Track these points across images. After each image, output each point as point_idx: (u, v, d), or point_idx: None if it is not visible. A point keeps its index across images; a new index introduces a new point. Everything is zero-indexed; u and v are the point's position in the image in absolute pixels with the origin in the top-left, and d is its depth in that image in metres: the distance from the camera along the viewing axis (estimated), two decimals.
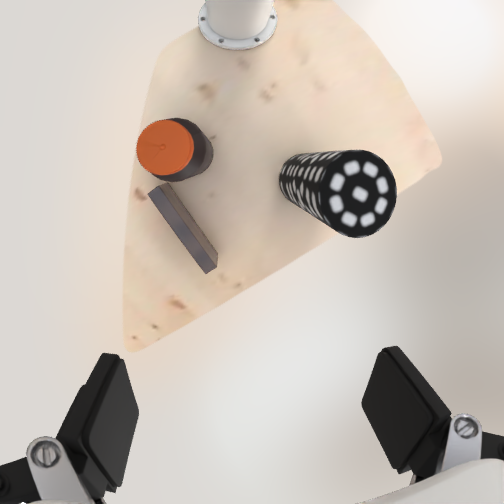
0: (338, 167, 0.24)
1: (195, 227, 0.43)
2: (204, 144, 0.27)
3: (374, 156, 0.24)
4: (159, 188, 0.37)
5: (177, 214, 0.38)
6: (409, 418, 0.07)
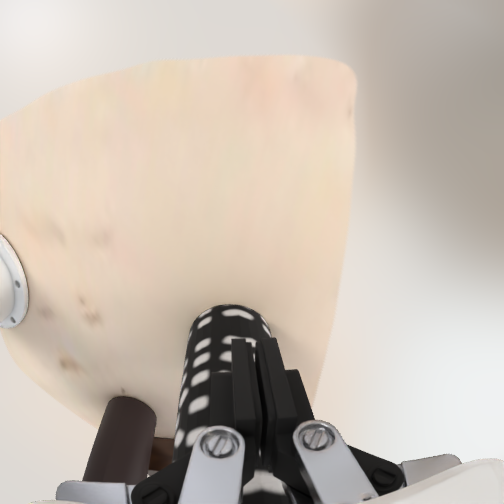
0: None
1: None
2: None
3: None
4: (148, 470, 0.27)
5: None
6: (264, 413, 0.07)
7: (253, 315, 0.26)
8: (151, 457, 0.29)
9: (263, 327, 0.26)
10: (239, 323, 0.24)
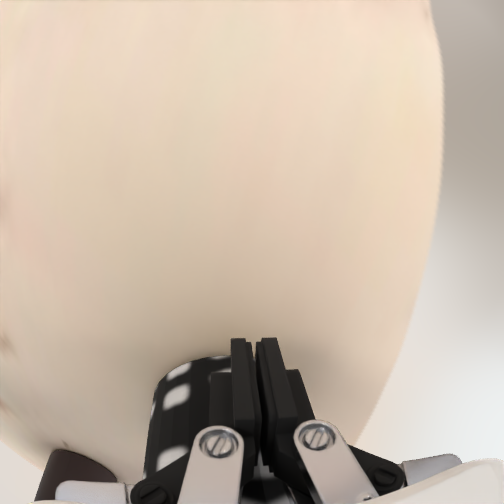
0: None
1: None
2: None
3: None
4: None
5: None
6: (264, 413, 0.07)
7: None
8: None
9: None
10: None
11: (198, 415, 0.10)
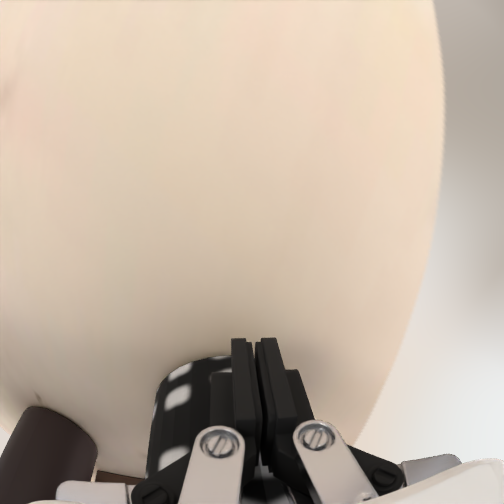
0: None
1: None
2: None
3: None
4: None
5: None
6: (263, 413, 0.07)
7: None
8: None
9: None
10: None
11: (199, 415, 0.10)
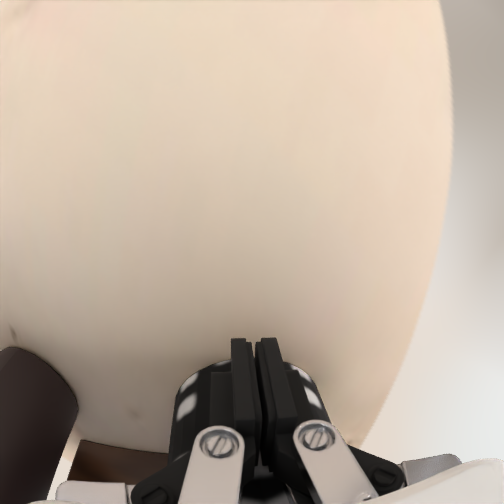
0: None
1: None
2: None
3: None
4: None
5: None
6: (264, 413, 0.07)
7: None
8: (74, 478, 0.12)
9: None
10: None
11: (202, 421, 0.10)
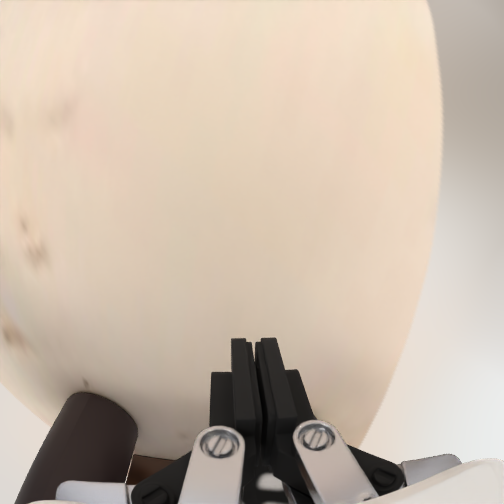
0: None
1: None
2: None
3: None
4: None
5: None
6: (264, 413, 0.07)
7: None
8: (131, 484, 0.17)
9: None
10: None
11: None
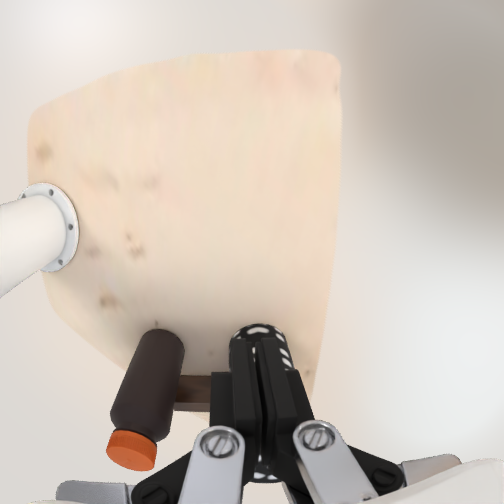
0: None
1: None
2: (145, 409, 0.24)
3: None
4: None
5: (205, 404, 0.35)
6: (264, 412, 0.07)
7: (268, 329, 0.38)
8: (177, 391, 0.37)
9: (276, 335, 0.37)
10: (258, 337, 0.35)
11: None
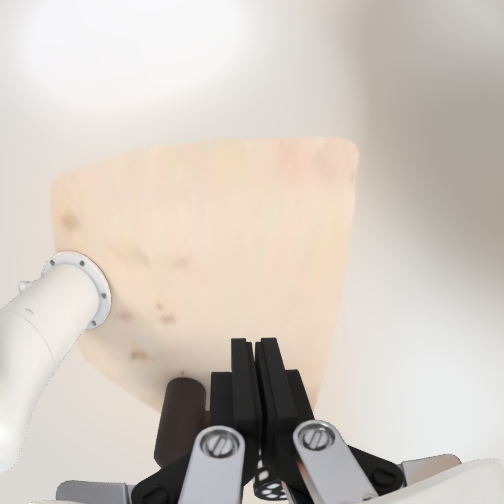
0: (262, 495, 0.26)
1: None
2: (185, 452, 0.29)
3: (264, 484, 0.25)
4: None
5: None
6: (264, 413, 0.07)
7: None
8: None
9: None
10: None
11: None
